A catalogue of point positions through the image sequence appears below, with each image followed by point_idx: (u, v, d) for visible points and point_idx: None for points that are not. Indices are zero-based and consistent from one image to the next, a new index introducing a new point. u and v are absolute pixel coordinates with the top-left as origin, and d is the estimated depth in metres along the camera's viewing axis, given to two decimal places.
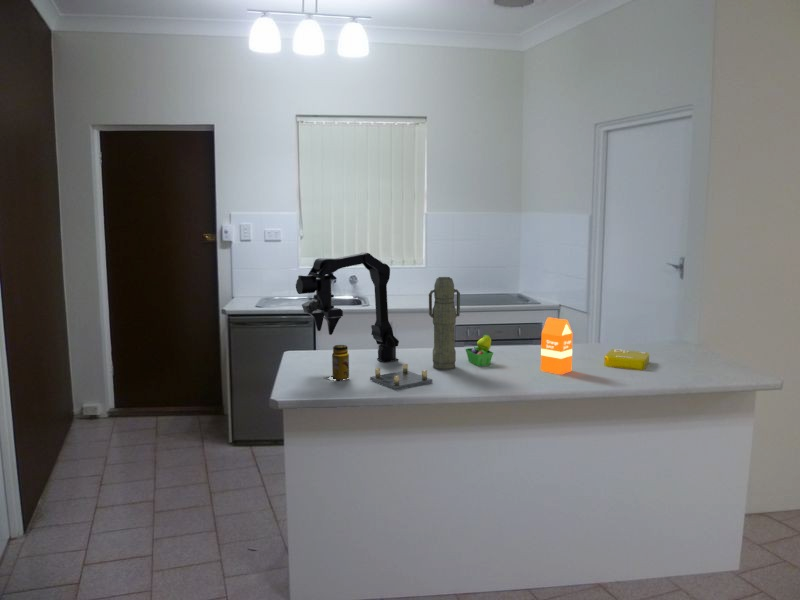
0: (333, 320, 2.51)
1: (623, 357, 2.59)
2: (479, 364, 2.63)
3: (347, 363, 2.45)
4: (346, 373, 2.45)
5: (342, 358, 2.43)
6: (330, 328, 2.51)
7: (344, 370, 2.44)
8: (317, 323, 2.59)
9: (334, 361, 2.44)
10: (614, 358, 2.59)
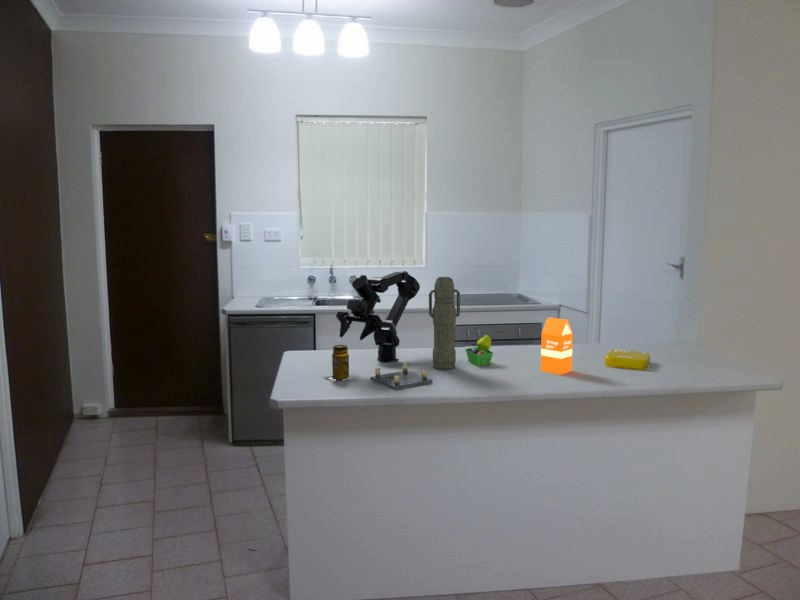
0: (369, 328, 2.51)
1: (624, 357, 2.58)
2: (479, 364, 2.63)
3: (347, 363, 2.45)
4: (346, 373, 2.45)
5: (342, 358, 2.43)
6: (364, 333, 2.49)
7: (344, 370, 2.44)
8: (343, 329, 2.54)
9: (334, 361, 2.44)
10: (615, 358, 2.59)
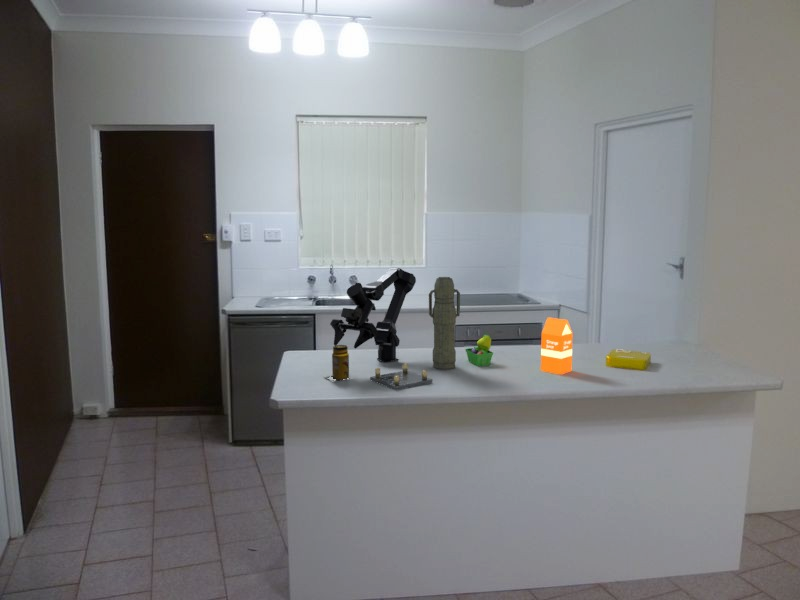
0: (364, 337, 2.48)
1: (624, 357, 2.58)
2: (479, 364, 2.63)
3: (347, 363, 2.45)
4: (346, 373, 2.45)
5: (342, 358, 2.43)
6: (358, 341, 2.46)
7: (344, 370, 2.44)
8: (337, 337, 2.52)
9: (334, 361, 2.44)
10: (615, 358, 2.59)
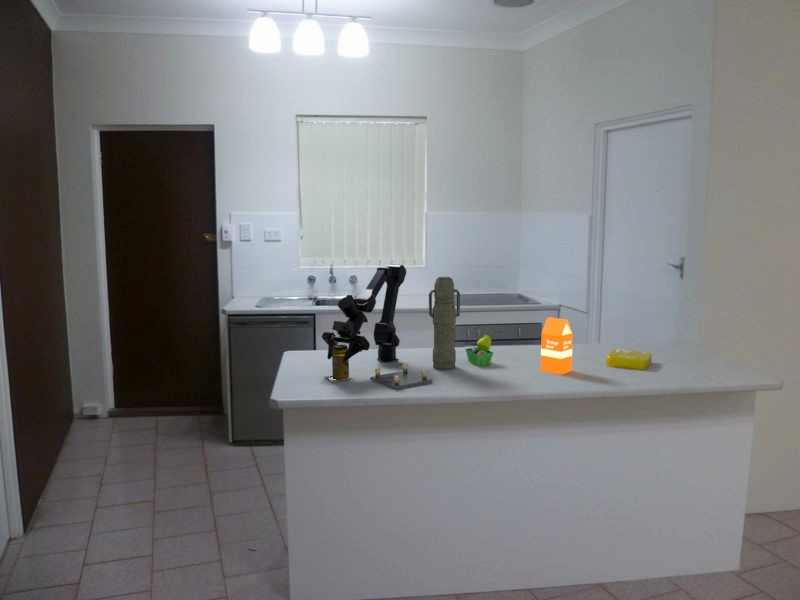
0: (353, 349, 2.45)
1: (625, 357, 2.58)
2: (479, 364, 2.63)
3: (347, 363, 2.45)
4: (346, 373, 2.45)
5: (342, 358, 2.43)
6: (348, 354, 2.43)
7: (344, 369, 2.44)
8: (330, 351, 2.47)
9: (334, 361, 2.44)
10: (616, 358, 2.59)
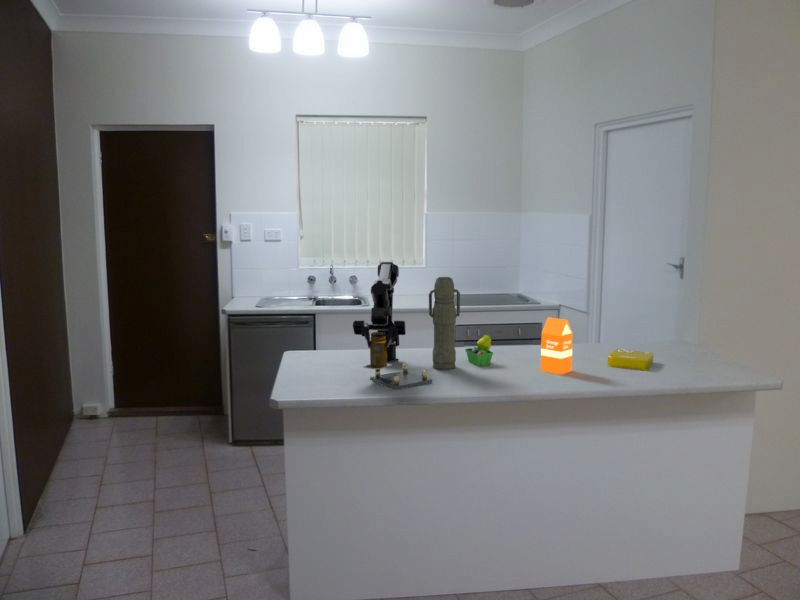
0: (391, 335, 2.42)
1: (626, 357, 2.58)
2: (479, 364, 2.63)
3: (386, 349, 2.41)
4: (386, 360, 2.41)
5: (384, 345, 2.38)
6: (389, 340, 2.39)
7: (385, 356, 2.40)
8: (369, 339, 2.40)
9: (376, 349, 2.38)
10: (617, 358, 2.59)
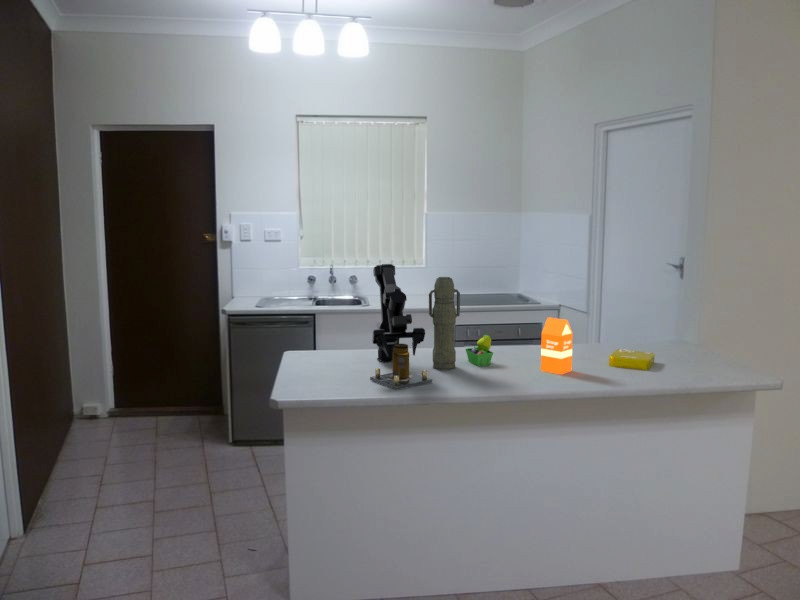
0: None
1: (628, 357, 2.58)
2: (479, 364, 2.63)
3: None
4: None
5: (408, 356, 2.40)
6: None
7: (408, 368, 2.41)
8: None
9: (400, 360, 2.38)
10: (618, 358, 2.59)
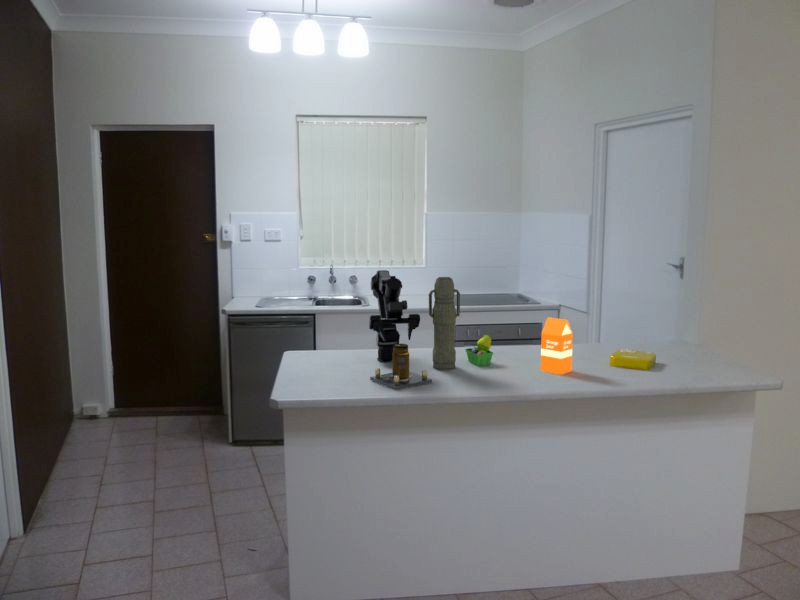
0: None
1: (629, 357, 2.58)
2: (479, 364, 2.63)
3: None
4: None
5: (408, 356, 2.40)
6: None
7: (408, 368, 2.41)
8: None
9: (400, 360, 2.38)
10: (619, 358, 2.59)
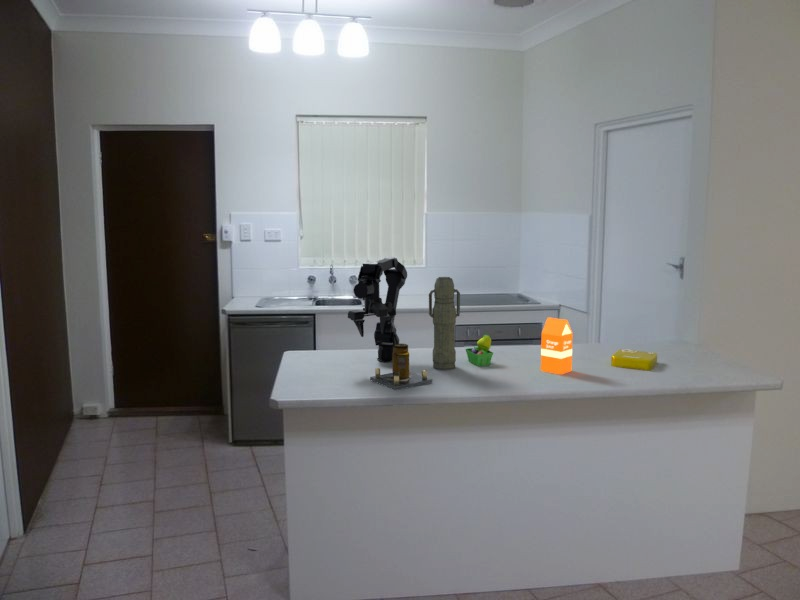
0: None
1: (630, 357, 2.58)
2: (479, 364, 2.63)
3: None
4: None
5: (408, 356, 2.40)
6: None
7: (408, 368, 2.41)
8: None
9: (400, 360, 2.38)
10: (621, 358, 2.59)
